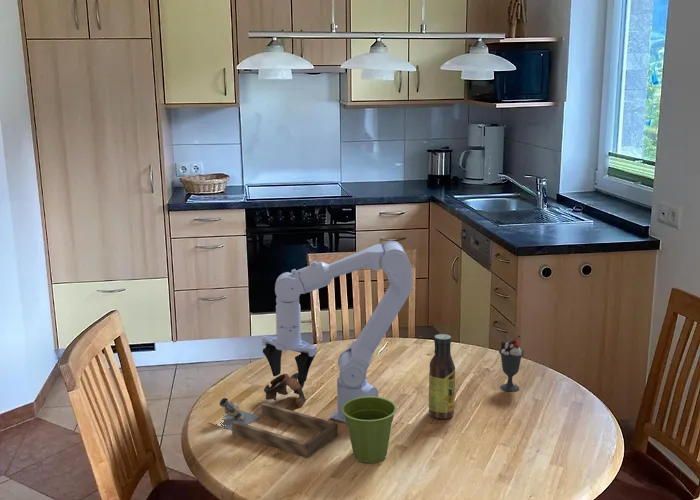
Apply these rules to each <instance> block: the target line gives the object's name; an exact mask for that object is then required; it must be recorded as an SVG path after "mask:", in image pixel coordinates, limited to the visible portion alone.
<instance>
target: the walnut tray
mask: <svg viewBox="0 0 700 500" xmlns="http://www.w3.org/2000/svg"><path fill="white" fill-rule="evenodd" d="M261 415H262V416H261V417H264V416H265V418H268V419H271V420H275V421H279V422H282V423H285V424H289V425H293V426H295V427H298V428H302V429H306V430H309V431H312V432H315V433H318V434H316V435H315V436H313V437H312V438H311V439H310V440H308V441H306V442H304V441H301V440H298V439H295V438H291V437H288V436H284V435H282V434H279V433H275V432H272V431H268V430H266V429H263V428H259V427H257V426H256V427H255V426H252V425H250V424H249V425H246V424H243V423H240V422H237V421H234V422H232V430H231V432H232V433H231V434H233V435H232V436H235V435H236V437H239V438H242V439H246V440H249V441H251V442H254V441H255V442H254V443H257V442H258V444H260V445H263V444H264V446H266V447H270V448H273V447H274V448H273V449H276V448H277V449H276V450H279V449H280V450H281V451H282V450H283V451H282V452H285V451H286V452H287V453H288V452H289V454H291V455H296V456H298V457H302V458H304V459H309V458H310V457H312V456H313V455H314V454H316V453H317V452H318V451H319V450H320V449H322V448H323V447H325V446H326V445H327V444H329V443H330V442H331V441H333V440H334V439H335V438H336V437H338V435H339V434H338V431H339V429H338V427H339V425H338V423H337V422H333V421H329V420H326V419H322V418H319V417H315V416H311V415H308V414H304V413H302V412H297V411H294V410H290V409H287V408H284V407H280V406H276V405H273V404H268V403H266V402H264V403H262V404H261Z"/></svg>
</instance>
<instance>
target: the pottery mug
mask: <svg viewBox="0 0 700 500" xmlns="http://www.w3.org/2000/svg"><path fill="white" fill-rule="evenodd" d="M269 383H270V384H271V385H269V384H266V386H265V387H264V389H263V392H264V393H265V399H266V400H273V401H277V395H278V394H279V395H284V396H286V395H289V393H288V390H287V387H289V388H290V389H291V390H292V391H293V393H294V394H297V395H298V397H297V398H296V400H295V401H294V402H295V403H296V405H297V408H298V409H300V408H301V407H303V405H305V402H306V397H305V394H304V391H303V389H304V385H305V382H303V383H299V380H298V372H296V373H293V374H292V375H291V376H289V374H288V373H282V374H279V375H277V376H275V378H273V379H272V380H271V381H270V382H269Z"/></svg>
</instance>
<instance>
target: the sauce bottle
mask: <svg viewBox="0 0 700 500" xmlns="http://www.w3.org/2000/svg"><path fill="white" fill-rule="evenodd" d="M433 337H434V338H433V342H434V351H433V352H434V355H433V357H432V358H431V359H430V362H429V373H428V412H429V416H431V417H432V418H434V419H438V420H439V419H440V420H446V419H450V418H452V417H453V416H454V414H455V408H456V407H455V402H456V401H455V400H456V366H455V364H454V361H453V357H452V354H451V353H452V352H451V343H452V336H451V335H449V334H445V333H439V334H435V335H434V336H433Z"/></svg>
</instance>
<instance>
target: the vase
mask: <svg viewBox="0 0 700 500" xmlns="http://www.w3.org/2000/svg"><path fill="white" fill-rule="evenodd" d="M218 404H219V406H220V407H222V408H224V413H226V414H227V415H228V416H231V417H235V419H238V420H240V421H241V420H242V421H243V420H244V419H245V421H246V418H245V417H244V416H243V414H242V411H243V410H241V409H240V406H239V404H237V402H235V401H229V399H228V398H226V397H222V398H221V400H220V401H219V403H218ZM240 410H241V411H240Z"/></svg>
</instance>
